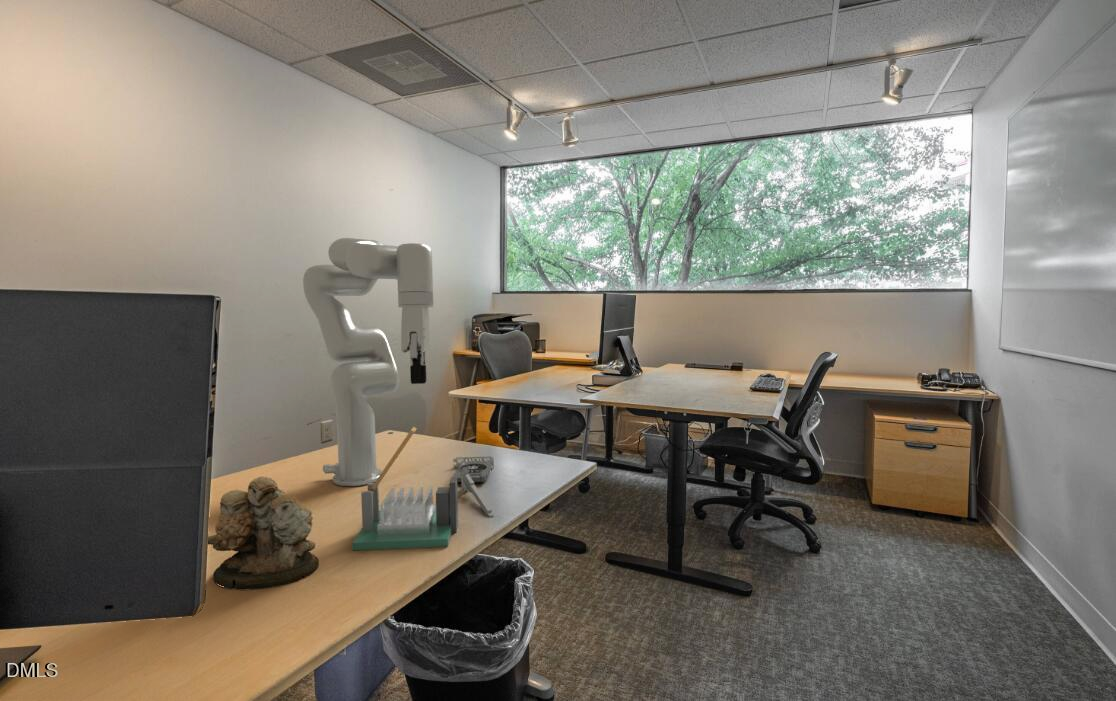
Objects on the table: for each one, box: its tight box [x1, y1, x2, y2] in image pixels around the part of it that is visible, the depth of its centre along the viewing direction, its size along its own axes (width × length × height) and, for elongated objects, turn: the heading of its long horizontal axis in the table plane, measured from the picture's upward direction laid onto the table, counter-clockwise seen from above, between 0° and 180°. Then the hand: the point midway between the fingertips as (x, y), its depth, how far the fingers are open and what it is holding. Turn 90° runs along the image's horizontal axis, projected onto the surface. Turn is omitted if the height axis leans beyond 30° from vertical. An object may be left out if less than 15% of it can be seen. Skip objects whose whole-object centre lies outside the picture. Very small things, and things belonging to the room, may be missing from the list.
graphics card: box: [452, 456, 495, 483], centre depth 145 cm, size 17×4×12 cm
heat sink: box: [377, 486, 436, 535], centre depth 110 cm, size 10×10×6 cm
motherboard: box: [351, 482, 452, 551], centre depth 109 cm, size 18×16×10 cm
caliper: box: [461, 467, 494, 518], centre depth 126 cm, size 20×1×6 cm, turn 28°
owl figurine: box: [207, 476, 320, 590], centre depth 92 cm, size 18×12×17 cm, turn 99°
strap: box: [369, 426, 418, 494], centre depth 108 cm, size 17×3×1 cm
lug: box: [435, 476, 459, 534], centre depth 110 cm, size 4×4×10 cm
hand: (418, 382), depth 118 cm, fingers closed
